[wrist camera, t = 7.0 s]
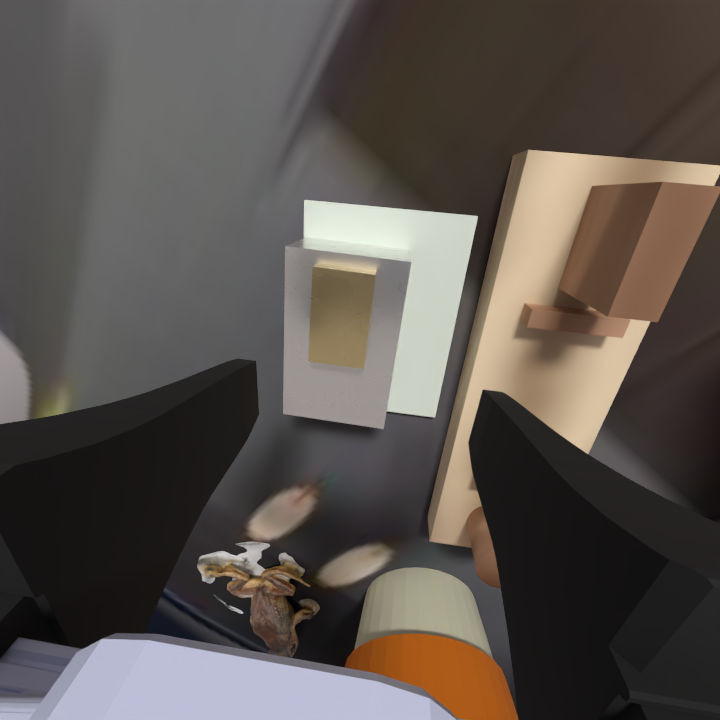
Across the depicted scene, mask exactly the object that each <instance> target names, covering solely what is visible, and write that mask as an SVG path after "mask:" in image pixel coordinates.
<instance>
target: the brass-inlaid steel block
mask: <svg viewBox="0 0 720 720" xmlns="http://www.w3.org/2000/svg"><path fill="white" fill-rule="evenodd" d="M410 268H411V256H410V251H409V250H407V249H399V248H391V247H383V246H375V245H367V244H359V243H352V242H344V241H336V240H328V239H320V238H312V237H305V238H303V239H301V240H298V241H296V242H294V243H291V244H289V245H287V246H285V311H284V391H283V414H287V415H294V416H301V417H307V418H314V419H320V420H327V421H334V422H340V423H347V424H353V425H360V426H367V427H373V428H380V429H384V423H385V417H386V411H387V405H388V399H389V393H390V388H391V382H392V376H393V370H394V364H395V358H396V352H397V346H398V340H399V334H400V328H401V322H402V316H403V310H404V304H405V298H406V292H407V286H408V280H409V274H410Z"/></svg>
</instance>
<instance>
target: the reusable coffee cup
mask: <svg viewBox="0 0 720 720" xmlns="http://www.w3.org/2000/svg"><path fill="white" fill-rule="evenodd" d="M345 668H349V669H355V670H361V671H366V672H372V673H377V674H380V675H383V676H386V677H389V678H392V679H396V680H399V681H402V682H405V683H408V684H411V685H414V686H417V687H420V688H423V689H424V690H425V691H426V692H428V693H429V694H430V695H431V696H433V697H434V698H435V699H436V700H438V701H439V702H440V703H441V704H443V705H444V706H445V707H447V708H448V709H449V710H450V711H451V712H452V713H453V714H454V715H455V717H456V718H460V719H465V720H519V719H518V715H517V712H516V709H515V706H514V703H513V700H512V697H511V693H510V690H509V687H508V684H507V681H506V678H505V676H504V673H503V671H502V669H501V668H500V666H499V665H498V664H497V663H496V662H495V661H494V660H493V657H492V654H491V651H490V647H489V644H488V641H487V638H486V634H485V631H484V628H483V625H482V621H481V618H480V615H479V612H478V608H477V605H476V602H475V599H474V596H473V594H472V592H471V591H470V589H469V588H468V587H467V586H466V585H465V584H464V583H463V582H461V581H460V580H459V579H457V578H455V577H453V576H452V575H450V574H447V573H444V572H442V571H438V570H434V569H429V568H419V567H412V568H401V569H395V570H392V571H389V572H386V573H384V574H382V575H381V576H379V577H377V578H376V579H375V580H374V581H373V582H372V583H371V584H370V586H369V587H368V589H367V592H366V596H365V601H364V606H363V610H362V615H361V620H360V625H359V629H358V634H357V639H356V644H355V649H354V651H353V652H352V653H351V654H350V655H349V657H348V658H347V661H346V664H345Z"/></svg>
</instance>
